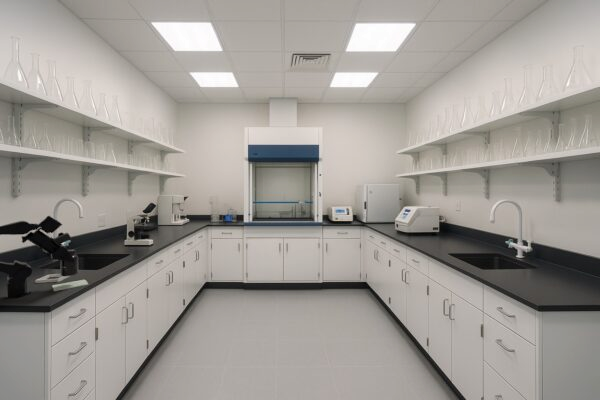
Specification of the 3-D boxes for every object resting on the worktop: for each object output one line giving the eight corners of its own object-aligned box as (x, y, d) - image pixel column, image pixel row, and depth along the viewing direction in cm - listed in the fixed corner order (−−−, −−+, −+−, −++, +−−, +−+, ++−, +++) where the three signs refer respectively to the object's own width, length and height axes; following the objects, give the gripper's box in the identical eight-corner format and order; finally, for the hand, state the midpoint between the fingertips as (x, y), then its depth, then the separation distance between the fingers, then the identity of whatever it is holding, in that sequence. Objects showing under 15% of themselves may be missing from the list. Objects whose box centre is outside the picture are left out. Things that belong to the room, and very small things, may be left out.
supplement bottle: (58, 277, 137) (58, 252, 137) (63, 273, 143) (62, 249, 143) (76, 275, 140) (75, 251, 139) (80, 272, 146) (79, 248, 146)
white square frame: (58, 281, 148) (58, 278, 148) (35, 283, 146) (35, 280, 146) (70, 276, 158) (70, 273, 158) (49, 277, 156) (49, 274, 156)
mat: (54, 291, 133) (54, 290, 133) (52, 286, 141) (52, 285, 140) (88, 284, 143) (88, 283, 143) (84, 280, 150) (84, 279, 150)
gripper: (61, 229, 132) (90, 250, 140) (56, 226, 144) (83, 245, 153) (38, 248, 126) (70, 269, 134) (34, 243, 139) (64, 262, 147)
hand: (72, 260), depth 142 cm, fingers closed on supplement bottle, 7 cm apart
